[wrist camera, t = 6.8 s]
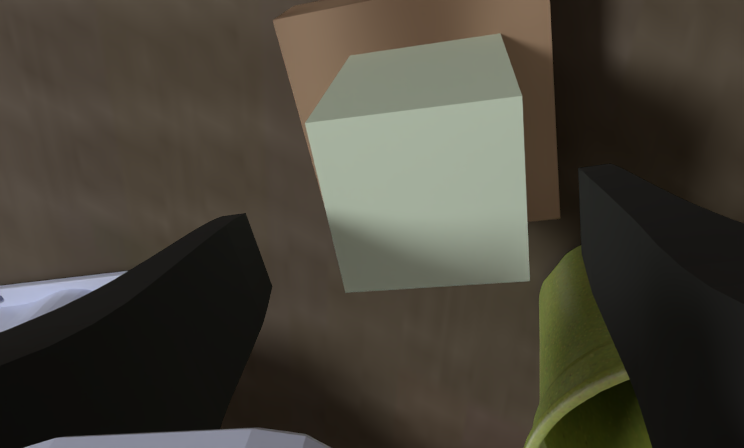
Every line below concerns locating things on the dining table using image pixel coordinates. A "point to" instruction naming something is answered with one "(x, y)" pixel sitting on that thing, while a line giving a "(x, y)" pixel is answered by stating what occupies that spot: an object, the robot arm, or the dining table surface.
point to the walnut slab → (426, 26)
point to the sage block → (424, 166)
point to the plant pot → (581, 370)
